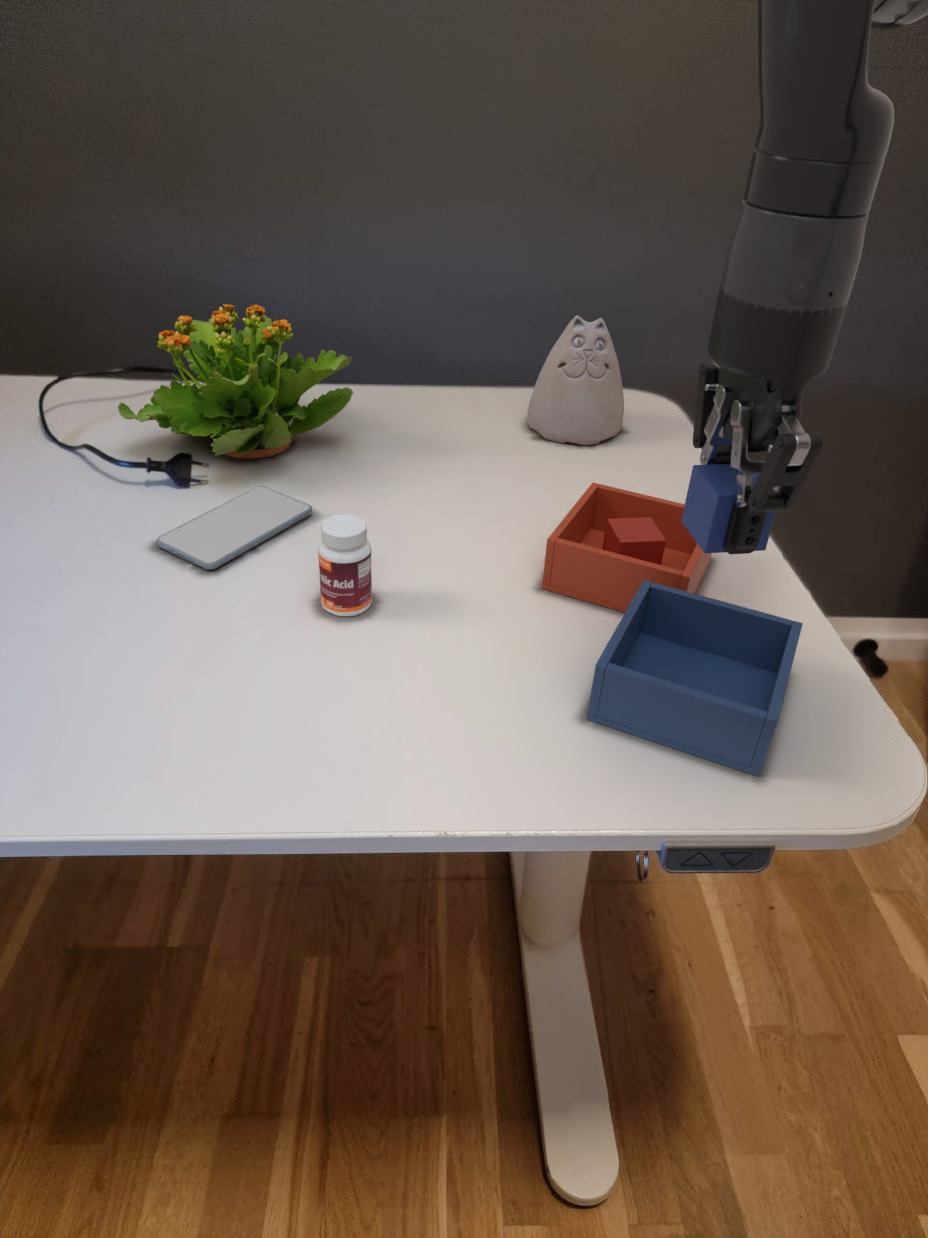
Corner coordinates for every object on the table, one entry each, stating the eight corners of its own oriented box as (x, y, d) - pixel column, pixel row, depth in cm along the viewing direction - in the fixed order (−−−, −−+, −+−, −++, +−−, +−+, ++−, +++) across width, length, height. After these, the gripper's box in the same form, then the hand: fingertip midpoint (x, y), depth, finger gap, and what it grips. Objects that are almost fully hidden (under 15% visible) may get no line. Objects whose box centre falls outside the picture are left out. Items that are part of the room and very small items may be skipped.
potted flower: (250, 392, 122) (236, 262, 112) (393, 431, 113) (392, 293, 103) (114, 456, 104) (83, 307, 94) (272, 507, 95) (256, 350, 85)
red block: (643, 556, 89) (651, 516, 86) (658, 580, 85) (666, 540, 83) (600, 558, 88) (606, 518, 86) (613, 582, 85) (620, 542, 82)
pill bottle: (311, 610, 80) (305, 530, 75) (336, 584, 83) (332, 507, 78) (357, 623, 78) (354, 543, 73) (381, 596, 82) (379, 518, 77)
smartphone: (152, 538, 87) (260, 483, 97) (153, 547, 88) (261, 491, 98) (209, 566, 83) (315, 506, 93) (210, 574, 84) (316, 514, 94)
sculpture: (562, 454, 110) (576, 335, 101) (509, 421, 118) (518, 308, 109) (638, 436, 115) (658, 322, 107) (583, 405, 123) (598, 297, 115)
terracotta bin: (709, 560, 90) (721, 512, 87) (678, 628, 80) (690, 577, 77) (585, 528, 94) (592, 481, 91) (541, 588, 84) (546, 539, 81)
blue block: (738, 519, 64) (753, 462, 62) (765, 550, 61) (782, 492, 58) (680, 521, 64) (692, 464, 61) (704, 553, 60) (718, 494, 57)
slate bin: (785, 675, 75) (803, 622, 72) (758, 777, 65) (777, 721, 61) (633, 630, 79) (643, 579, 76) (586, 719, 69) (595, 664, 66)
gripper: (907, 323, 47) (819, 584, 57) (788, 258, 59) (731, 485, 68) (779, 323, 46) (712, 590, 56) (683, 257, 57) (641, 488, 67)
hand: (723, 531), depth 62 cm, fingers closed on blue block, 4 cm apart
